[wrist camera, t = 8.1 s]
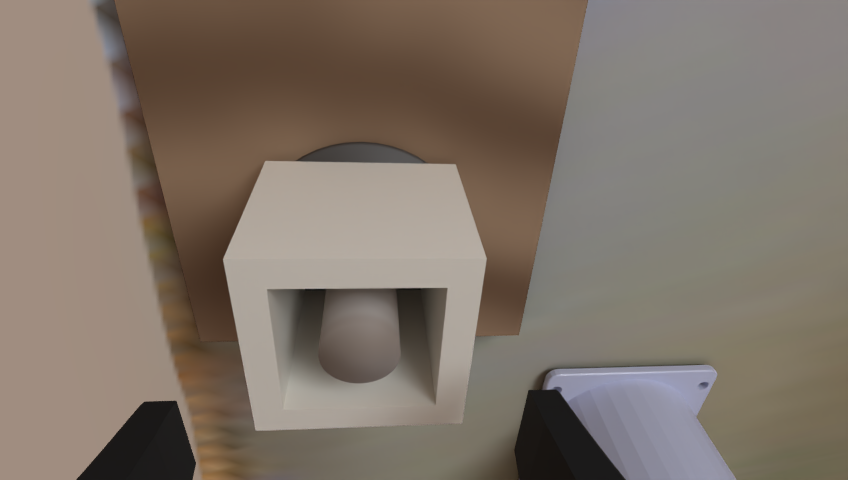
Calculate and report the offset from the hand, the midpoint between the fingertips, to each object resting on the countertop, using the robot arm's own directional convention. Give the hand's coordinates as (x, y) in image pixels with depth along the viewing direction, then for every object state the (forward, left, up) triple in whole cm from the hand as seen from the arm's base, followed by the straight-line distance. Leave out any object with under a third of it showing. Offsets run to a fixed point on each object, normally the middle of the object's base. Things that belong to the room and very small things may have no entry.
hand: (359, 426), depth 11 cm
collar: (0, 0, -7) cm, 7 cm away
